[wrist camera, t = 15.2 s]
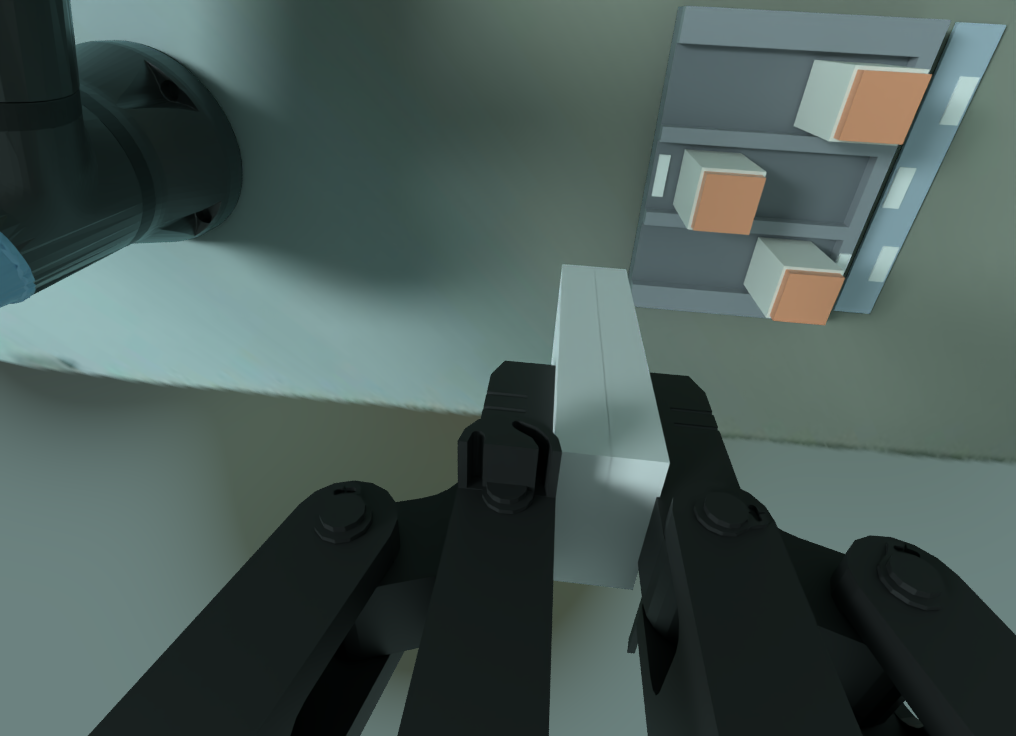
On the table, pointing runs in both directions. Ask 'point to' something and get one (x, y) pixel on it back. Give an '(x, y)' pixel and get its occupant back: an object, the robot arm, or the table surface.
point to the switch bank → (761, 145)
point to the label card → (919, 160)
